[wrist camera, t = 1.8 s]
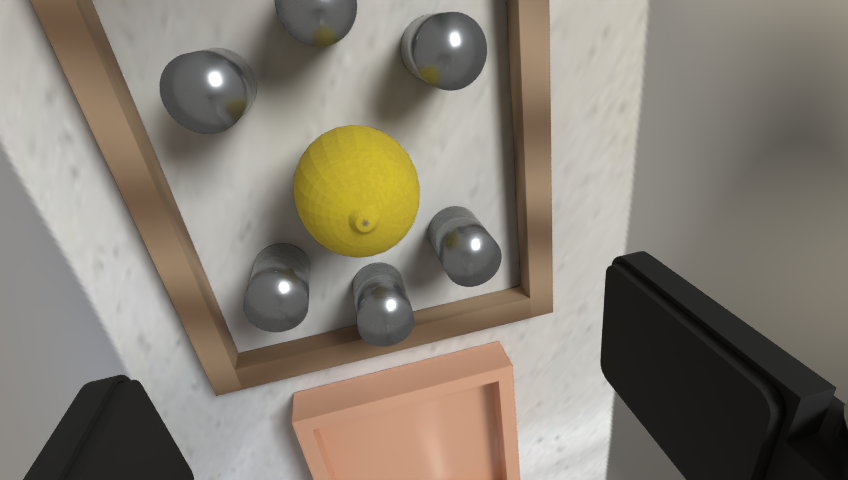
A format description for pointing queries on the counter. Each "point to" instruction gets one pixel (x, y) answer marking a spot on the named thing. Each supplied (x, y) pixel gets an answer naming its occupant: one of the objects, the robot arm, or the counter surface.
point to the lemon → (356, 191)
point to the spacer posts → (288, 265)
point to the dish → (415, 421)
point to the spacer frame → (177, 258)
